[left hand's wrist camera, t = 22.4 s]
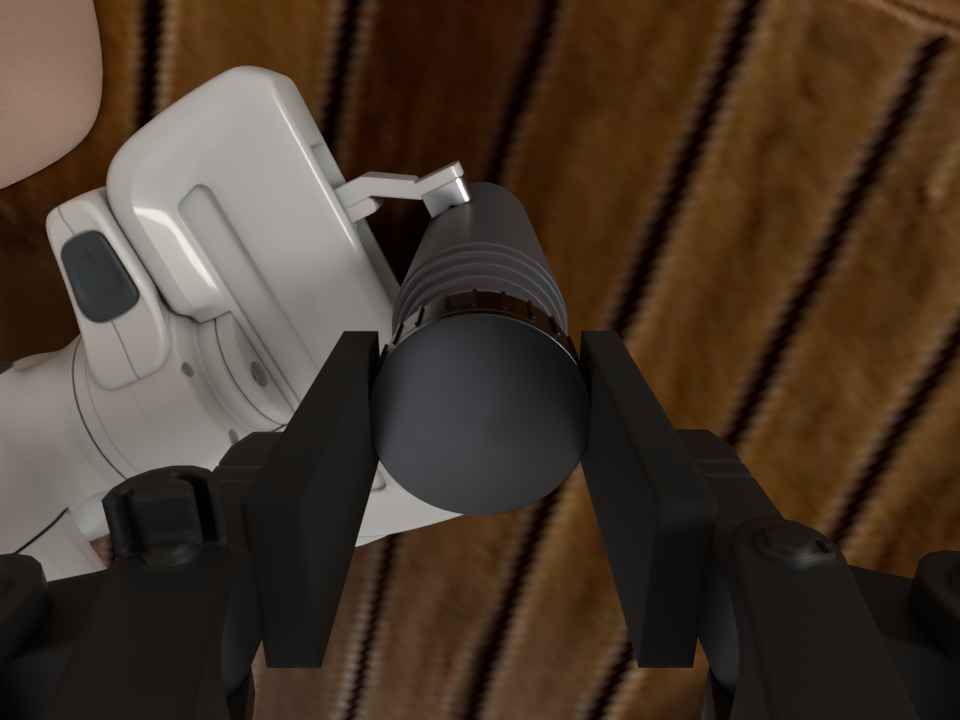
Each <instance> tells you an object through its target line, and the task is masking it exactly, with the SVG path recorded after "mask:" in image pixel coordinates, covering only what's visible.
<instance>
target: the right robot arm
mask: <svg viewBox="0 0 960 720" xmlns="http://www.w3.org/2000/svg"><path fill="white" fill-rule="evenodd" d="M473 195H474V194H473V192H472V189H471V187H470V185H469V182H468V180H467V178H466V175H465V173H464V171H463V169H462V167H461V164H460V162H459V160H458V161H456V162H453V163H451V164H448V165H446V166H444V167H442V168H440V169H438V170H436V171H434V172H432V173H430V174H428V175H426V176H424V177H422V178H420V179H419V178H418V176H413V175H403V174H392V173H382V172H372V171H369V172H367V173H365V174H363V175H361V176H359V177H357V178H355V179H353V180H351V181H349V182H347V183H346V181H345V179H344V177H343V175H342V174H341V172H340V170H339V168H338V166H337V164H336V162H335V160H334V158H333V156H332V154H331V152H330V151H329V149H328V147H327V145H326V143H325V141H324V139H323V137H322V135H321V133H320V131H319V129H318V128H317V126H316V124H315V122H314V120H313V118H312V116H311V114H310V112H309V110H308V108H307V107H306V105H305V103H304V101H303V99H302V97H301V95H300V93H299V91H298V89H297V87H296V86H295V84H294V82H293V81H292V80H291V79H290V78H288V77H287V76H285V75H282V74H279V73H277V72H274V71H271V70H268V69H265V68H261V67H257V66H239V67H235V68H232V69H230V70H227V71H225V72H223V73H221V74H219V75H218V76H216V77H214V78H212V79H210V80H209V81H207V82H206V83H204V84H202V85H201V86H199V87H197V88H196V89H194V90H193V91H191V92H190V93H188V94H187V95H185V96H184V97H182V98H181V99H179V100H178V101H176V102H175V103H173V104H172V105H171V106H169V107H168V108H167V109H165V110H164V111H162V112H161V113H160V114H158V115H157V116H156V117H155V118H153V119H152V120H151V121H150V122H148V123H147V124H146V125H145V126H143V127H142V128H141V129H140V130H138V131H137V132H136V133H135V134H134V135H133V136H132V137H130V138H129V139H128V140H127V141H126V142H125V143H124V144H123V146H122V147H121V148H120V149H119V150H118V152H117V153H116V155H115V156H114V158H113V160H112V162H111V164H110V167H109V170H108V174H107V181H106V186H103V187H100V188H97V189H94V190H91V191H89V192H86V193H83V194H81V195H79V196H77V197H75V198H73V199H70V200H68V201H66V202H65V203H63V204H61V205H59V206H57V207H56V208H55V209H53V210H52V211H51V212H50V213H49V214H48V216H47V219H46V231H47V235H48V239H49V242H50V244H51V247H52V250H53V253H54V255H55V258H56V261H57V263H58V266H59V269H60V271H61V274H62V277H63V279H64V282H65V285H66V288H67V291H68V294H69V297H70V300H71V303H72V306H73V309H74V312H75V315H76V318H77V322H78V325H79V329H80V334H79V335H78V336H77V337H76V338H75V339H74V340H73V341H72V342H71V343H70V344H69V345H67V346H66V347H65V348H63V349H61V350H59V351H56V352H48V353H41V354H36V355H32V356H28V357H25V358H22V359H20V360H17V361H15V362H13V363H10V362H7V361H3V360H0V555H1V554H11V553H17V554H23V555H29V556H32V557H34V558H35V559H36V560H37V561H39V562H40V563H41V565H42V568H43V571H44V574H45V577H46V581H47V582H48V581H53V580H58V579H63V578H68V577H73V576H77V575H82V574H87V573H92V572H97V571H100V570H104V569H107V568H106V567H105V565H104V564H103V562H102V561H101V559H100V558H99V557H98V555H97V554H96V552H95V551H94V549H93V548H92V546H91V545H90V543H89V541H92V540H95V539H97V538H99V537H102V536H104V535H107V534H109V533H110V532H109V528H108V524H107V521H106V517H105V513H104V509H103V505H102V501H101V500H102V499H103V498H104V497H105V496H106V495H107V493H108V492H109V491H110V490H111V489H112V488H113V487H115V486H117V485H118V484H120V483H122V482H123V481H125V480H127V479H128V478H130V477H133V476H135V475H138V474H141V473H143V472H146V471H149V470H152V469H157V468H162V467H167V466H173V465H194V466H198V467H202V468H207V469H209V470H210V471H211V472H212V471H213V470H214V469H215V467H216V466H219V462H220V460H221V459H222V458H223V456H224V455H225V453H226V452H227V451H228V449H229V448H230V447H231V446H232V445H233V444H235V443H236V442H238V441H239V440H241V439H242V438H244V437H246V436H247V435H249V434H250V433H252V432H283V431H284V430H285V428H286V426H287V425H288V423H289V421H290V420H291V418H292V416H293V415H294V413H295V411H296V410H297V408H298V406H299V405H300V403H301V401H302V400H303V398H304V396H305V395H306V393H307V391H308V390H309V388H310V386H311V385H312V383H313V381H314V380H315V378H316V376H317V375H318V373H319V371H320V370H321V368H322V366H323V365H324V363H325V362H326V360H327V358H328V357H329V355H330V353H331V352H332V350H333V348H334V347H335V345H336V343H337V342H338V340H339V338H340V337H341V335H342V333H343V332H344V331H378V334H379V350H380V355H381V352H382V350H383V347H384V345H385V344H389V342H390V340H391V339H392V315H393V309H394V305H395V301H396V298H397V296H398V293H399V291H400V289H401V287H400V285H399V283H398V281H397V279H396V277H395V275H394V273H393V271H392V269H391V267H390V265H389V264H388V262H387V260H386V258H385V256H384V254H383V252H382V250H381V248H380V246H379V244H378V243H377V241H376V239H375V237H374V235H373V233H372V231H371V229H370V227H369V225H368V223H367V221H366V220H365V218H364V217H366V216H368V215H370V214H372V213H374V212H375V211H376V210H377V209H378V208H379V207H380V206H381V205H382V204H383V202H384V200H383V198H382V197H393V198H406V199H419V200H422V199H423V201H424V203H425V205H426V207H427V209H428V211H429V213H430V215H431V217H432V218H434V217H436V216H438V215H441V214H443V213H444V212H446V211H448V209H449V208H450V206H451V205H454V206H458V205H461V204H464V203H466V202H468V201H470V200H471V199H472V198H473V197H474V196H473ZM461 515H463V514H458V513H454V512H450V511H445V510H442V509H439V508H437V507H434V506H431V505H429V504H427V503H425V502H423V501H421V500H419V499H418V498H416V497H415V496H413V495H412V494H410V493H408V492H407V491H406V490H405V489H404V488H402V487H401V486H400V485H399V484H398V483H397V482H396V481H395V480H394V479H393V478H392V477H391V476H390V475H389V473H388V472H387V471H386V469H385V468H384V466H383V465H382V463H381V462H380V460H379V464H378V467H377V471H376V474H375V478H374V481H373V485H372V488H371V492H370V495H369V499H368V503H367V506H366V510H365V513H364V517H363V520H362V524H361V527H360V531H359V534H358V538H357V542H356V545H355V547H356V546H361V545H364V544H367V543H369V542H372V541H374V540H377V539H379V538H382V537H384V536H386V535H388V534H393V533H398V532H403V531H407V530H411V529H416V528H420V527H423V526H427V525H431V524H435V523H438V522H441V521H445V520H448V519H451V518H455V517H458V516H461Z"/></svg>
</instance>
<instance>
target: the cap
mask: <svg viewBox="0 0 960 720" xmlns="http://www.w3.org/2000/svg"><path fill="white" fill-rule="evenodd" d="M578 358H579V357H578V354H577V351H576V349H575V346H574V344H573V341H572V339H571V337H570V336H566V335H565V333H564V332H563V330H562V329H561V328H560V327H559V326H558V324H557V323H556V321H555V318H554V317H553V316H552V315H551V316H550V317H549V316H548V315H547V314H546V313H544V312H543V311H542V310H540V309H539V308H537V307H535V306H534V305H533V304H532V301H530V300H528V302H526V301H524V300H521V299H519V298H517V297H513V296H510V295H506V294H505V291H501V293H496V292H489V291H477V289H473V291H472V292H463V293H458V294H454V295H449V294H448V293H447V294H445V295H444V297H443V298H441V299H438V300H436V301H433V302H431V303H430V304H428V305H426V306H424V307H423V305H421V306H419V309H418V311H417V312H415V313H414V314H413V315H411V316H410V317H409V318H408V319H407V320H406V321H405V322H404V323H402V322H400V323H399V324H398V327H397V330H396V332H395V334H394V335H393V337H392V339H391V340H390V342H389V344H385V345H384V347H383V350H382V352H381V355H380V358H379V360H378V363H377V365H376V367H378V370H377V373H376V376H375V378H374V381H373V383H372V386H371V390H370V394H369V398H368V402H369V417H370V431H371V441H372V444H373V447H374V450H375V452H376V454H377V456H378V458H379V460H380V462H381V463H382V465H383V466H384V468H385V469H386V471H387V472H388V473H389V475H390V476H391V477H392V478H393V479H394V480H395V481H396V482H397V483H398V484H399V485H400V486H401V487H402V488H404V489H405V490H406V491H407V492H408V493H410V494H412V495H413V496H415V497H416V498H418V499H419V500H421V501H423V502H425V503H427V504H429V505H431V506H434V507H437V508H439V509H442V510H445V511H450V512H454V513H458V514H466V515H493V514H501V513H506V512H510V511H514V510H517V509H520V508H523V507H526V506H528V505H530V504H532V503H535V502H537V501H538V500H540V499H542V498H543V497H545V496H547V495H548V494H550V493H551V492H552V491H553V490H555V489H556V488H557V487H559V486H560V485H561V484H562V483H563V482H564V481H565V480H566V479H567V478H568V477H569V475H570V474H571V473H572V471H573V470H574V469H575V467H576V466H577V464H578V463H579V461H580V459H581V457H582V456H583V454H584V451H585V449H586V446H587V444H588V438H589V425H590V411H591V396H590V391H589V388H588V385H587V384H588V383H589V379H588V377H587V374H586V372H585V369H584V367H583V364H582V362H581V359H578Z"/></svg>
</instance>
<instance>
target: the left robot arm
mask: <svg viewBox="0 0 960 720" xmlns="http://www.w3.org/2000/svg"><path fill="white" fill-rule="evenodd" d="M379 358H380V350H379V334H378V331H344V332H343V333H342V335H341V337H340V338H339V340H338V342H337V343H336V345H335V347H334V348H333V350H332V352H331V353H330V355H329V357H328V358H327V360H326V362H325V363H324V365H323V366H322V368H321V370H320V371H319V373H318V375H317V376H316V378H315V380H314V381H313V383H312V385H311V386H310V388H309V390H308V391H307V393H306V395H305V396H304V398H303V400H302V401H301V403H300V405H299V406H298V408H297V410H296V411H295V413H294V415H293V416H292V418H291V420H290V421H289V423H288V425H287V426H286V428H285V430H284V431H283V432H252V433H250V434H249V435H247V436H246V437H244V438H242V439H241V440H239V441H238V442H236V443H235V444H233V445H232V446H231V447H230V448H229V449H228V451H227V452H226V453H225V455H224V456H223V458H222V459H221V460H220V462H219V466H216V467H215V469H214V470H213V471H212V472H211V471H210V470H209V469H207V468H202V467H198V466H194V465H173V466H167V467H162V468H157V469H152V470H149V471H146V472H143V473H141V474H138V475H135V476H133V477H130V478H128V479H127V480H125V481H123V482H122V483H120V484H118V485H117V486H115V487H113V488H112V489H111V490H110V491H109V492H108V493H107V495H106V496H105V497H104V498H103V499H102V500H101V501H102V505H103V509H104V513H105V517H106V521H107V524H108V528H109V532H110V536H111V540H112V544H113V548H114V551H115V555H116V558H115V560H114V562H113V564H112V566H111V568H108V569H104V570H100V571H97V572H92V573H87V574H82V575H77V576H73V577H68V578H63V579H58V580H53V581H48V582H47V581H46V577H45V574H44V571H43V568H42V565H41V563H40V562H39V561H37V560H36V559H35V558H34V557H32V556H29V555H23V554H17V553H11V554H1V555H0V720H252V718H253V710H254V701H255V687H254V680H253V674H252V669H251V664H252V662H253V659H254V657H255V655H256V652H257V650H258V647H259V645H260V642H261V640H263V646H264V653H265V659H266V665H267V668H321V665H322V662H323V658H324V655H325V651H326V648H327V644H328V641H329V637H330V634H331V630H332V627H333V623H334V619H335V616H336V612H337V609H338V605H339V602H340V598H341V595H342V591H343V588H344V584H345V580H346V577H347V573H348V570H349V566H350V563H351V559H352V556H353V552H354V549H355V545H356V542H357V538H358V534H359V531H360V527H361V524H362V520H363V517H364V513H365V510H366V506H367V503H368V499H369V495H370V492H371V488H372V485H373V481H374V478H375V474H376V471H377V467H378V464H379V458H378V456H377V454H376V452H375V450H374V447H373V444H372V441H371V431H370V417H369V402H368V398H369V394H370V390H371V386H372V383H373V381H374V378H375V376H376V373H377V370H378V367H376V365H377V363H378V360H379ZM580 359H581V362H582V364H583V367H584V369H585V372H586V374H587V377H588V379H589V383H588V384H587V385H588V388H589V391H590V396H591V411H590V425H589V438H588V444H587V446H586V449H585V451H584V454H583V456H582V457H581V459H580V461H581V465H582V468H583V472H584V476H585V479H586V483H587V486H588V490H589V493H590V497H591V500H592V504H593V507H594V511H595V515H596V518H597V522H598V525H599V529H600V532H601V536H602V539H603V543H604V546H605V550H606V554H607V557H608V561H609V564H610V568H611V571H612V575H613V578H614V582H615V585H616V589H617V593H618V596H619V600H620V603H621V607H622V610H623V614H624V617H625V621H626V624H627V628H628V631H629V635H630V639H631V642H632V646H633V649H634V653H635V656H636V660H637V663H638V667H639V668H693V662H694V656H695V650H696V644H697V638H699V640H700V643H701V645H702V647H703V650H704V652H705V655H706V657H707V660H708V662H709V669H708V674H707V680H706V686H705V691H704V697H703V703H702V708H701V714H700V720H960V552H959V551H949V550H944V551H938V552H932V553H928V554H927V555H926V556H924V557H923V558H922V559H921V560H919V563H918V566H917V569H916V572H915V576H914V579H911V578H906V577H901V576H896V575H891V574H886V573H882V572H877V571H872V570H867V569H863V568H859V567H855V566H851V565H848V563H847V561H846V559H845V556H844V555H843V554H842V552H841V551H840V550H839V548H838V547H837V546H836V545H835V543H834V542H832V541H831V540H830V539H828V538H827V537H825V536H824V535H823V534H821V533H820V532H818V531H816V530H814V529H812V528H809V527H807V526H805V525H802V524H800V523H798V522H793V521H789V520H785V519H784V518H783V517H782V515H781V514H780V513H779V511H778V510H777V508H776V507H775V506H774V504H773V503H772V502H771V500H770V499H769V498H768V496H767V495H766V494H765V492H764V491H763V489H762V488H761V487H760V485H759V484H758V483H757V481H756V480H755V479H754V478H751V473H750V472H749V470H748V469H747V468H746V466H745V465H744V464H741V460H740V458H739V457H738V455H737V454H736V453H735V451H734V450H733V449H732V447H731V446H730V445H729V444H728V443H727V442H725V441H724V440H722V439H721V438H719V437H718V436H716V435H715V434H713V433H711V432H710V431H708V430H675V429H674V427H673V425H672V424H671V422H670V420H669V419H668V417H667V415H666V414H665V412H664V410H663V409H662V407H661V405H660V404H659V402H658V400H657V399H656V397H655V395H654V394H653V392H652V390H651V389H650V387H649V385H648V384H647V382H646V380H645V379H644V377H643V375H642V374H641V372H640V371H639V369H638V367H637V366H636V364H635V362H634V361H633V359H632V357H631V356H630V354H629V352H628V351H627V349H626V347H625V346H624V344H623V342H622V341H621V339H620V337H619V336H618V334H617V332H616V331H581V344H580Z"/></svg>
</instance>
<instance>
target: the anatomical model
mask: <svg viewBox="0 0 960 720" xmlns="http://www.w3.org/2000/svg"><path fill="white" fill-rule="evenodd" d="M102 79H103V68H102V51H101V44H100V37H99V30H98V23H97V18H96V13H95V8H94V3H93V0H0V189H2V188H4V187H7V186H9V185H11V184H14V183H16V182H18V181H20V180H22V179H24V178H26V177H28V176H30V175H32V174H34V173H36V172H38V171H40V170H42V169H43V168H45V167H47V166H49V165H50V164H52V163H54V162H55V161H57V160H59V159H60V158H61V157H63V156H64V155H66V154H67V153H68V152H70V151H71V150H73V149H74V148H75V147H76V146H77V145H78V144H79V143H80V142H81V141H82V140H83V139H84V138H85V137H86V135H87V134H88V133H89V131H90V130H91V128H92V126H93V124H94V122H95V120H96V117H97V114H98V111H99V107H100V102H101V95H102Z"/></svg>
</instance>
